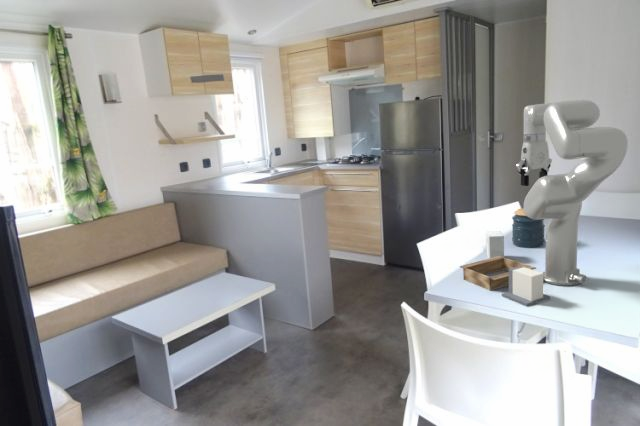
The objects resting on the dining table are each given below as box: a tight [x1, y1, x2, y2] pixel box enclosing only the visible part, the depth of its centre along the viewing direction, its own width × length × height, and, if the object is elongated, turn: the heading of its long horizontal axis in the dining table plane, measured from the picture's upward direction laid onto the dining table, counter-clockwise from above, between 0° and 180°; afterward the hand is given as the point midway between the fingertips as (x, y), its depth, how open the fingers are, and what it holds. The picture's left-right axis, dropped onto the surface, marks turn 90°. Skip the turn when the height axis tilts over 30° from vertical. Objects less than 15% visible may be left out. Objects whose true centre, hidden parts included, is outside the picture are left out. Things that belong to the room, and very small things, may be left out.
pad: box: [501, 291, 551, 307], centre depth 144 cm, size 10×10×1 cm
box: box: [508, 266, 544, 301], centre depth 144 cm, size 9×5×8 cm, turn 24°
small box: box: [485, 230, 505, 259], centre depth 182 cm, size 8×6×10 cm
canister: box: [511, 207, 546, 248], centre depth 196 cm, size 13×13×18 cm
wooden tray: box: [459, 256, 537, 291], centre depth 161 cm, size 17×19×4 cm
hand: (534, 183), depth 172 cm, fingers open, 9 cm apart
